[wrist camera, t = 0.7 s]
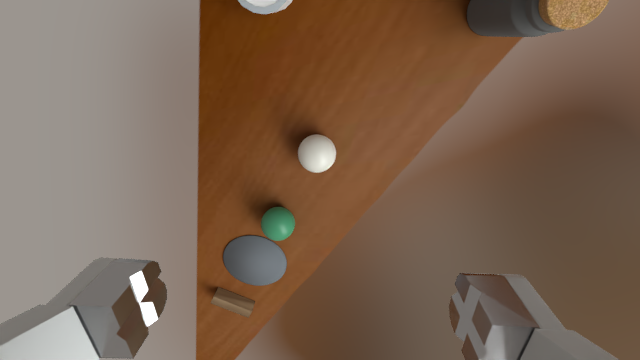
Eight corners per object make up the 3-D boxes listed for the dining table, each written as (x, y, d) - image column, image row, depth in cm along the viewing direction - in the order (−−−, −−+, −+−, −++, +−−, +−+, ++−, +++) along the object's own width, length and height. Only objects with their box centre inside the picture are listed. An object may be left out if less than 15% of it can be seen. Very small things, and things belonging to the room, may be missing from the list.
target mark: (236, 225, 53) (236, 226, 53) (297, 251, 55) (297, 252, 55) (215, 269, 58) (214, 270, 58) (271, 292, 60) (271, 293, 59)
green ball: (272, 195, 50) (265, 213, 45) (302, 209, 51) (298, 228, 46) (260, 219, 52) (252, 238, 47) (288, 232, 53) (283, 252, 48)
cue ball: (310, 123, 44) (306, 134, 39) (342, 140, 45) (343, 153, 40) (294, 153, 46) (289, 168, 41) (325, 169, 47) (324, 185, 42)
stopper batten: (218, 286, 60) (213, 296, 57) (255, 301, 61) (251, 311, 59) (215, 293, 61) (210, 303, 58) (251, 307, 62) (248, 317, 60)
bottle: (456, 24, 37) (523, 19, 24) (485, -28, 35) (578, -67, 21) (495, 44, 38) (582, 49, 25) (526, -6, 36) (642, -30, 22)
